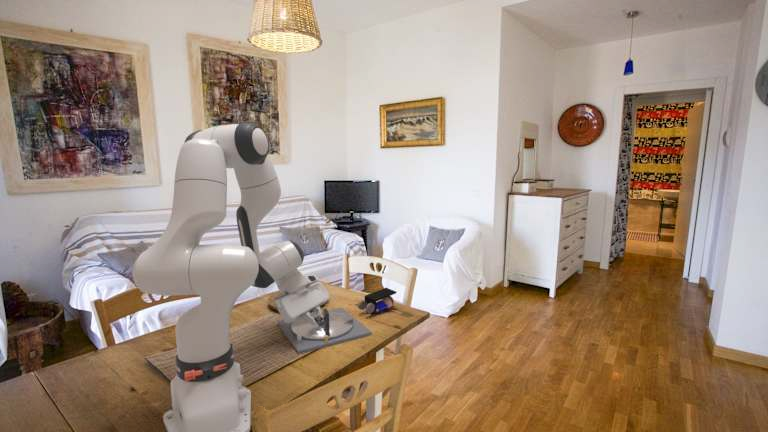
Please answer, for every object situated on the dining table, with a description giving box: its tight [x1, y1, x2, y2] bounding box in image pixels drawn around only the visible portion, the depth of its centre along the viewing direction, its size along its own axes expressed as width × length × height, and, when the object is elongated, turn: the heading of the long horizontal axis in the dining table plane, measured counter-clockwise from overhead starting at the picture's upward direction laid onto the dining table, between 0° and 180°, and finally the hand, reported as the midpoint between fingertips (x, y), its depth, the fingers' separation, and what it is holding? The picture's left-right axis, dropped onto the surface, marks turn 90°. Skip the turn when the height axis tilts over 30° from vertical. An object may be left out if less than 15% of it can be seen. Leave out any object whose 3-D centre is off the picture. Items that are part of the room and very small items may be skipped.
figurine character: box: [357, 287, 397, 317], centre depth 144 cm, size 7×8×15 cm
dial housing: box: [276, 307, 373, 355], centre depth 129 cm, size 25×25×3 cm
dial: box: [292, 308, 353, 340], centre depth 128 cm, size 21×21×8 cm
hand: (318, 322), depth 121 cm, fingers closed
